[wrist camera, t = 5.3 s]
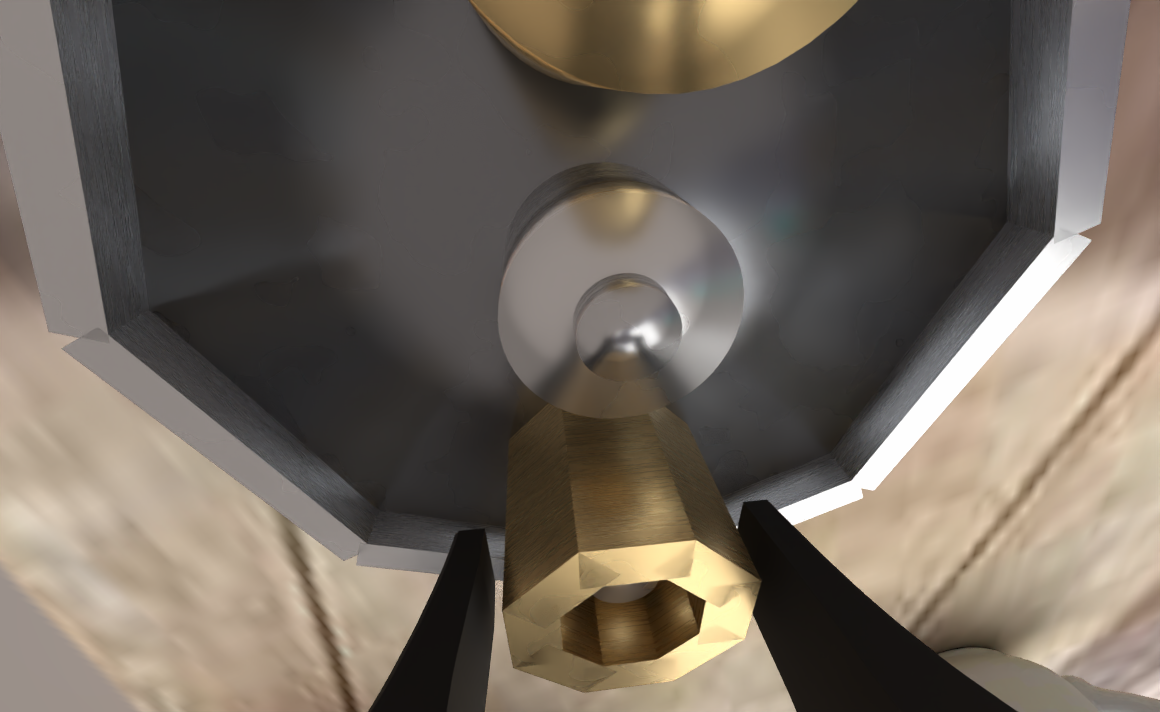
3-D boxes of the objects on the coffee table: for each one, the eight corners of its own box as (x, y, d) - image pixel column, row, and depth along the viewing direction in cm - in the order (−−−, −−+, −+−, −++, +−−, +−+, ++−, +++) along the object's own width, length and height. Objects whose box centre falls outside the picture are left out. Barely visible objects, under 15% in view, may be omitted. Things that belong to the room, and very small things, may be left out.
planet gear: (692, 380, 13) (776, 531, 9) (676, 509, 16) (734, 673, 11) (503, 395, 12) (492, 561, 8) (520, 525, 15) (519, 701, 11)
